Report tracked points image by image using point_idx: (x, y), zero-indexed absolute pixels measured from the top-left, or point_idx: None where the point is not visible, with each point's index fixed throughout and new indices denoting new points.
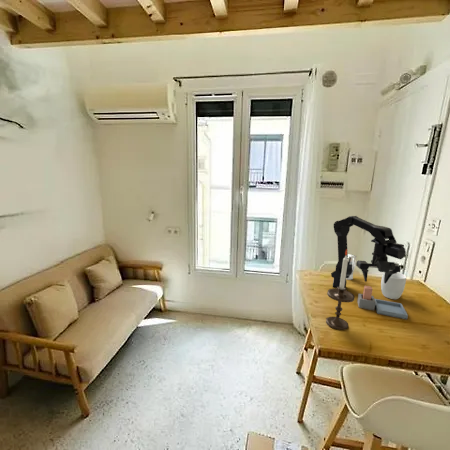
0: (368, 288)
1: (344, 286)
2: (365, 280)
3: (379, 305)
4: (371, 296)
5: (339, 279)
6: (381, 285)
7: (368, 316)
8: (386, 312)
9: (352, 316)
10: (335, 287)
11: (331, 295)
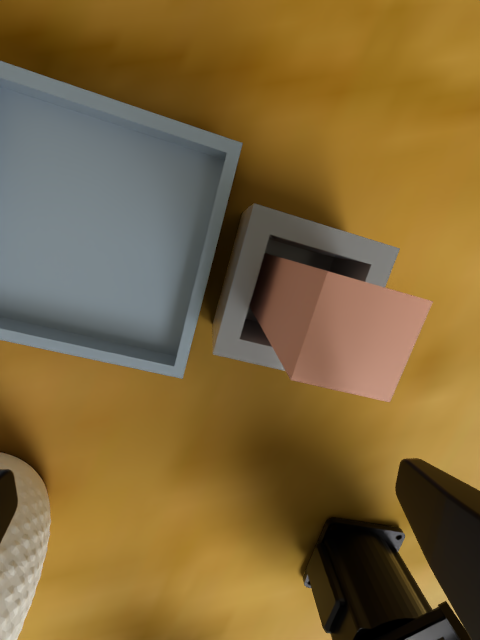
0: (385, 293)
1: (332, 554)
2: (442, 473)
3: (163, 297)
4: (239, 339)
5: (414, 614)
6: (31, 592)
7: (331, 108)
8: (166, 120)
9: (469, 88)
10: (387, 537)
11: None
